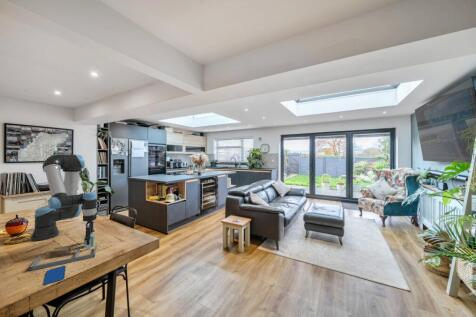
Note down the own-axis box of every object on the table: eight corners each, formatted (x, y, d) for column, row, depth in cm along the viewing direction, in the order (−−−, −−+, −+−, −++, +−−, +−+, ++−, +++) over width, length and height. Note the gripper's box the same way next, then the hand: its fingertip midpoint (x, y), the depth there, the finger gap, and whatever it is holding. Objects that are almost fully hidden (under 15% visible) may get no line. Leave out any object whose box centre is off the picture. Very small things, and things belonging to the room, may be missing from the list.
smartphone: (42, 285, 88) (47, 270, 99) (42, 287, 88) (47, 272, 99) (64, 278, 93) (65, 265, 104) (64, 280, 93) (65, 266, 104)
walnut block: (50, 258, 113) (54, 254, 118) (67, 255, 116) (70, 252, 121) (50, 251, 113) (54, 248, 118) (67, 249, 116) (70, 245, 121)
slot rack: (38, 259, 111) (38, 256, 111) (97, 247, 126) (97, 244, 126) (28, 271, 99) (28, 267, 99) (94, 257, 114) (94, 253, 114)
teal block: (85, 245, 130) (85, 235, 130) (94, 243, 133) (94, 233, 133) (84, 248, 126) (84, 237, 126) (93, 246, 129) (93, 236, 129)
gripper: (85, 211, 138) (85, 240, 138) (79, 220, 117) (79, 254, 117) (98, 209, 142) (98, 237, 142) (94, 218, 121) (93, 251, 121)
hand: (89, 245), depth 129 cm, fingers open, 12 cm apart
